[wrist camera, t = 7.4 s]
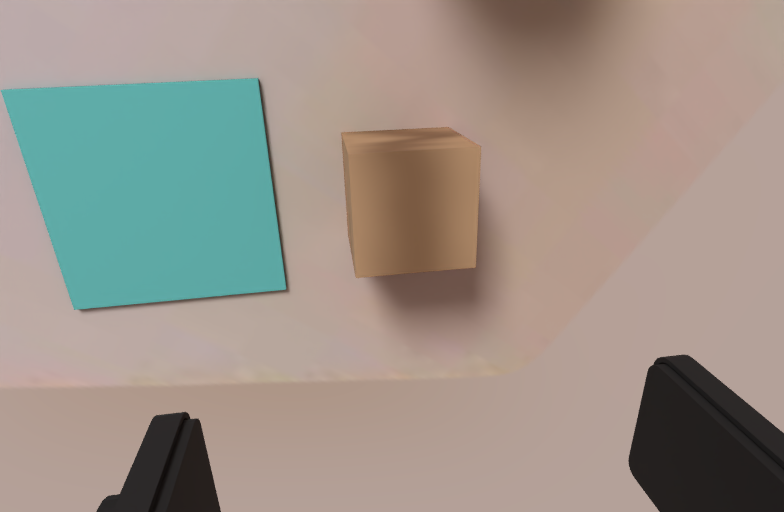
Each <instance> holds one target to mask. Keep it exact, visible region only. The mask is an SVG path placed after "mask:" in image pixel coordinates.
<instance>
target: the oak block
mask: <svg viewBox="0 0 784 512" xmlns="http://www.w3.org/2000/svg"><path fill="white" fill-rule="evenodd" d="M341 135H342V150H343V165H344V180H345V195H346V210H347V225H348V237H349V242H350V248H351V253H352V259H353V265H354V270H355V276H356V278H362V277H373V276H385V275H396V274H407V273H419V272H430V271H442V270H453V269H465V268H476V251H477V228H478V206H479V183H480V160H481V146H479V145H477V144H476V143H474V142H472V141H471V140H469V139H467V138H466V137H464V136H462V135H461V134H459V133H457V132H456V131H454V130H452V129H451V128H449V127H441V128H422V129H402V130H383V131H363V132H343V133H341Z"/></svg>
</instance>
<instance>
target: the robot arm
mask: <svg viewBox="0 0 784 512" xmlns="http://www.w3.org/2000/svg"><path fill="white" fill-rule="evenodd" d="M629 467H630V470H631V472H632V474H633V476H634V478H635V479H636V480H637V482H638V483H639V484H640V486H641V487H642V488H643V490H644V491H645V493H646V494H647V495H648V497H649V498H650V499H651V500H652V502H653V503H654V505H655V506H656V507H657V509H658V510H659V511H660V512H784V433H783V432H781V431H780V430H779V429H778V428H776V427H775V426H774V425H773V424H772V423H771V422H769V421H768V420H767V419H765V417H763V416H762V415H761V414H760V413H758V412H757V411H756V410H755V409H754V408H752V407H751V406H750V405H749V404H748V403H746V402H745V401H744V400H743V399H741V398H740V397H739V396H738V395H737V394H735V393H734V392H733V391H732V390H731V389H729V388H728V387H727V386H726V385H724V384H723V383H722V382H721V381H720V380H718V379H717V378H716V377H715V376H714V375H712V374H711V373H710V372H709V371H707V370H706V369H705V368H704V367H703V366H701V365H700V364H699V363H698V362H697V361H695V360H694V359H693V358H691V357H690V356H688V355H676V356H668V357H660V358H657V360H656V361H655V362H654V365H652V366H651V367H650V368H649V369H648V373H647V377H646V382H645V386H644V391H643V396H642V400H641V405H640V409H639V414H638V418H637V423H636V427H635V432H634V436H633V441H632V445H631V450H630V455H629ZM97 512H221V511H220V506H219V502H218V497H217V494H216V489H215V485H214V480H213V476H212V471H211V467H210V462H209V458H208V454H207V450H206V445H205V441H204V436H203V432H202V428H201V423H200V421H199V419H190V416H189V414H188V413H186V412H182V413H173V414H164V415H156V416H155V417H154V418H153V419H152V421H151V423H150V425H149V428H148V430H147V432H146V435H145V437H144V439H143V442H142V444H141V446H140V449H139V451H138V453H137V456H136V458H135V460H134V463H133V465H132V467H131V469H130V472H129V474H128V476H127V479H126V481H125V483H124V486H123V488H122V490H121V493H120V494H118V495H111V496H108V497H106V498H105V499H104V500H103V501H102V503H101V505H100V506H99V508H98V510H97Z"/></svg>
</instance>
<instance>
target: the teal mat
mask: <svg viewBox="0 0 784 512" xmlns="http://www.w3.org/2000/svg"><path fill="white" fill-rule="evenodd" d="M1 92H2V95H3V98H4V101H5V104H6V107H7V110H8V113H9V116H10V119H11V122H12V125H13V128H14V131H15V134H16V137H17V140H18V143H19V146H20V149H21V152H22V155H23V158H24V161H25V164H26V167H27V170H28V173H29V176H30V179H31V182H32V185H33V188H34V191H35V194H36V197H37V200H38V203H39V206H40V209H41V212H42V215H43V218H44V221H45V224H46V227H47V230H48V233H49V236H50V239H51V242H52V245H53V248H54V251H55V254H56V257H57V260H58V263H59V266H60V269H61V272H62V275H63V278H64V281H65V284H66V287H67V290H68V293H69V296H70V299H71V302H72V305H73V308H74V310H77V309H88V308H98V307H109V306H119V305H130V304H140V303H151V302H161V301H172V300H182V299H192V298H203V297H213V296H224V295H234V294H245V293H255V292H266V291H276V290H286V280H285V273H284V266H283V258H282V251H281V243H280V236H279V229H278V221H277V214H276V206H275V199H274V191H273V184H272V177H271V169H270V162H269V154H268V147H267V140H266V132H265V125H264V117H263V110H262V102H261V95H260V88H259V80H258V78H253V79H231V80H209V81H187V82H165V83H142V84H120V85H98V86H76V87H54V88H32V89H10V90H1Z"/></svg>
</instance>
